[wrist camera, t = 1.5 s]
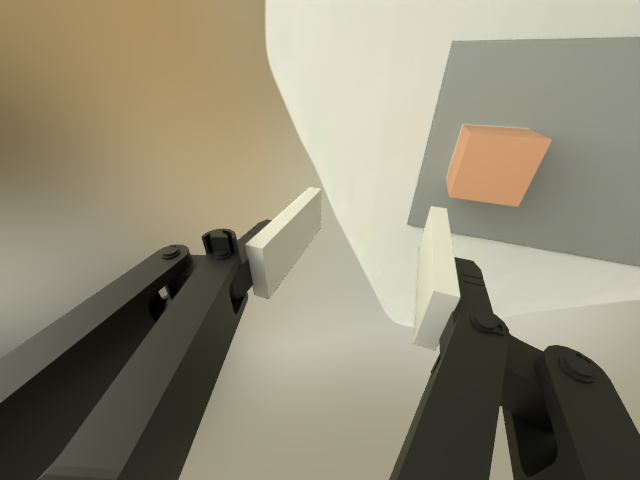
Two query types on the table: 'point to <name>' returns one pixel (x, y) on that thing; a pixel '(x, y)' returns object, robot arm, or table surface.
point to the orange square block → (495, 163)
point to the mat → (564, 150)
